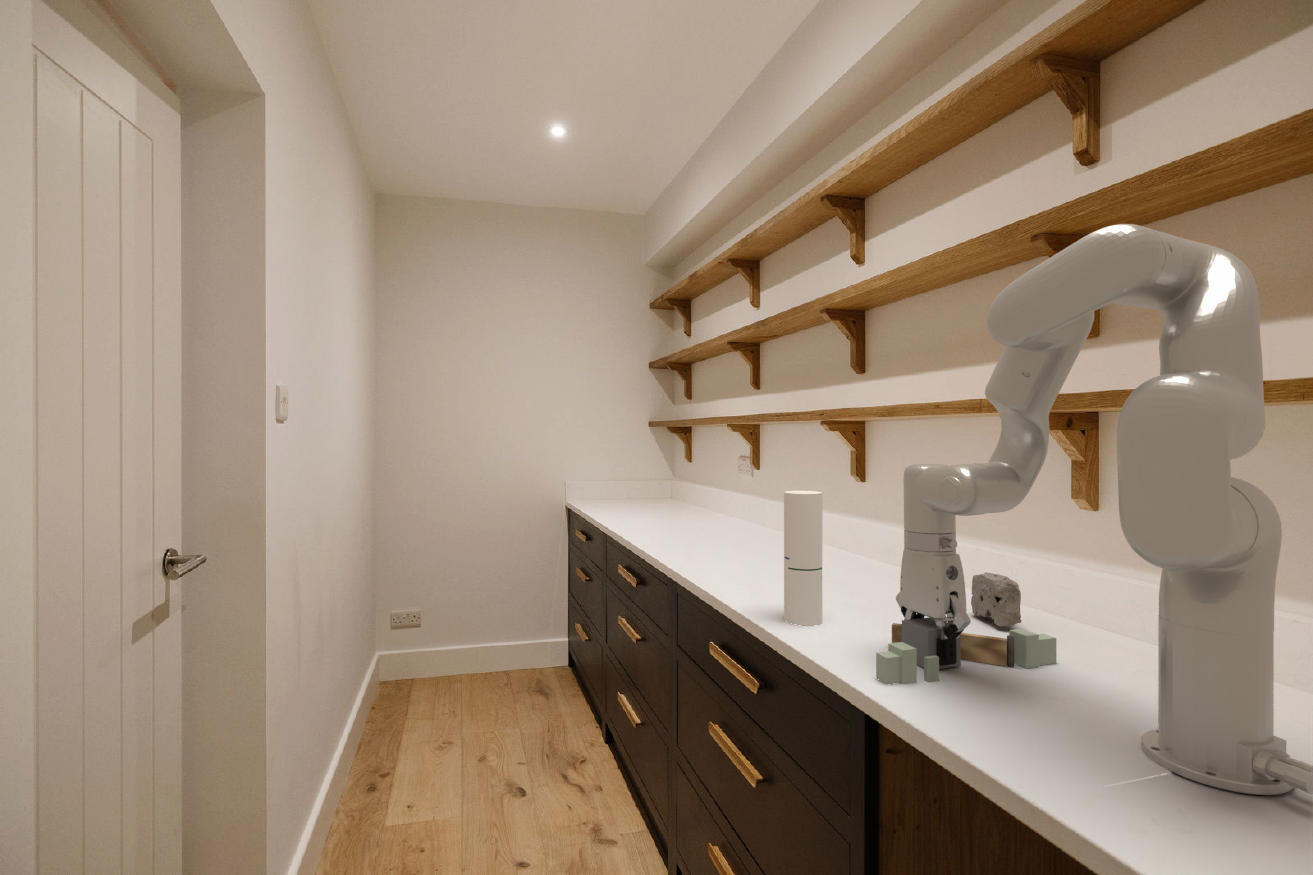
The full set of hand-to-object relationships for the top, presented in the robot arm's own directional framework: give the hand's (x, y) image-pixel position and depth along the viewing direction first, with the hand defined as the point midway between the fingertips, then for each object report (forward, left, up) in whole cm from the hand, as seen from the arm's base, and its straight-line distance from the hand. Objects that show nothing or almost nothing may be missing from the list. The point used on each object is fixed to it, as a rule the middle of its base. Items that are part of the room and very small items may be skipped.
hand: (931, 656), depth 101 cm
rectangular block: (0, 0, -1) cm, 1 cm away
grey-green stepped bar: (-5, -11, -1) cm, 12 cm away
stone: (+13, -26, -2) cm, 29 cm away
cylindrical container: (+25, +8, -1) cm, 27 cm away
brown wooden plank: (-5, -11, -1) cm, 12 cm away
